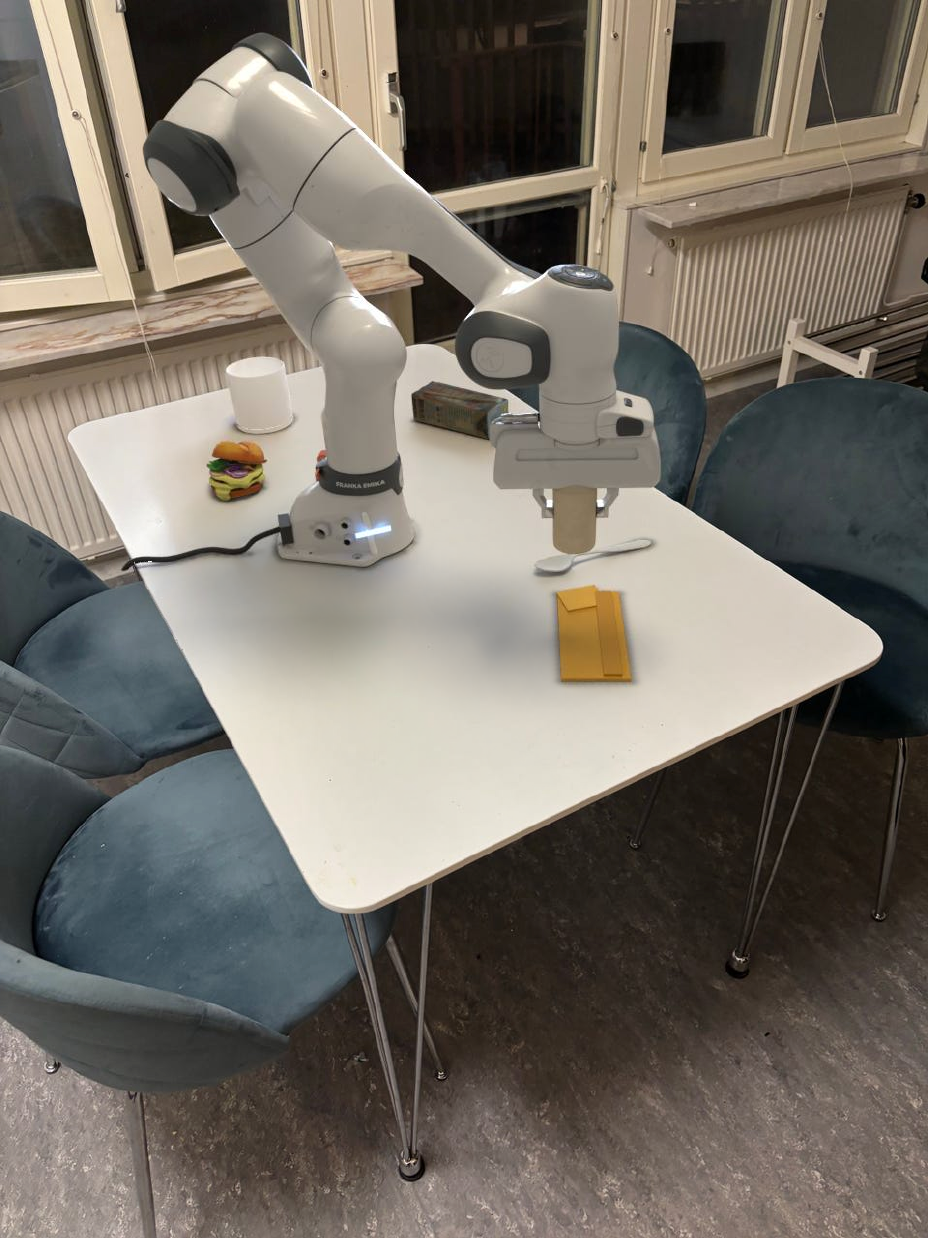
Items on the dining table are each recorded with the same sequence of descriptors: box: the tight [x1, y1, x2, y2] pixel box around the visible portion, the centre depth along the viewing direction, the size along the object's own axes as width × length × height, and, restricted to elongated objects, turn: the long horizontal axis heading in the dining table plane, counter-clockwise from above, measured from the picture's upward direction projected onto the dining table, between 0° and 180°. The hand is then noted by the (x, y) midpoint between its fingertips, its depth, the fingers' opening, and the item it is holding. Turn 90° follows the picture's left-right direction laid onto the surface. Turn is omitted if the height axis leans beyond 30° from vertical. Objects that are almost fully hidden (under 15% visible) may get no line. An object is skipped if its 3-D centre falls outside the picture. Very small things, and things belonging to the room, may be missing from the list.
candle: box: [551, 485, 598, 554], centre depth 114 cm, size 6×6×10 cm
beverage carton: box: [410, 380, 510, 440], centre depth 183 cm, size 8×19×7 cm, turn 55°
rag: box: [556, 584, 632, 682], centre depth 126 cm, size 9×21×1 cm, turn 177°
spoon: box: [533, 539, 652, 573], centre depth 141 cm, size 4×21×2 cm, turn 113°
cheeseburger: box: [206, 440, 268, 502], centre depth 164 cm, size 10×11×10 cm
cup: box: [225, 356, 294, 435], centre depth 186 cm, size 12×12×12 cm
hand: (575, 515), depth 114 cm, fingers closed on candle, 5 cm apart
